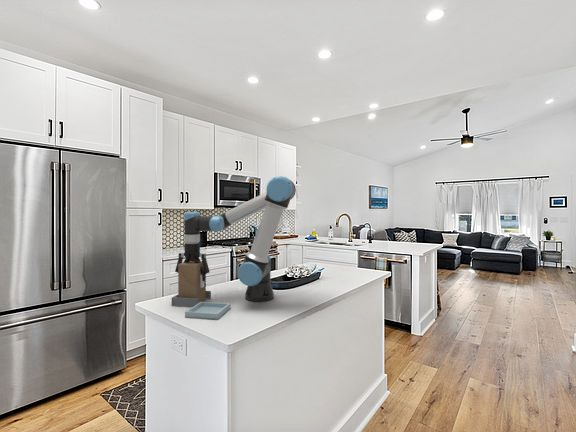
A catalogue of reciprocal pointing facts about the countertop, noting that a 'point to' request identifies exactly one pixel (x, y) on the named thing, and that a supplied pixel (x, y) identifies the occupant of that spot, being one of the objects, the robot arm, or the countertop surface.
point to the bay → (187, 300)
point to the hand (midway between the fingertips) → (192, 286)
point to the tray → (208, 310)
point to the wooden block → (190, 281)
